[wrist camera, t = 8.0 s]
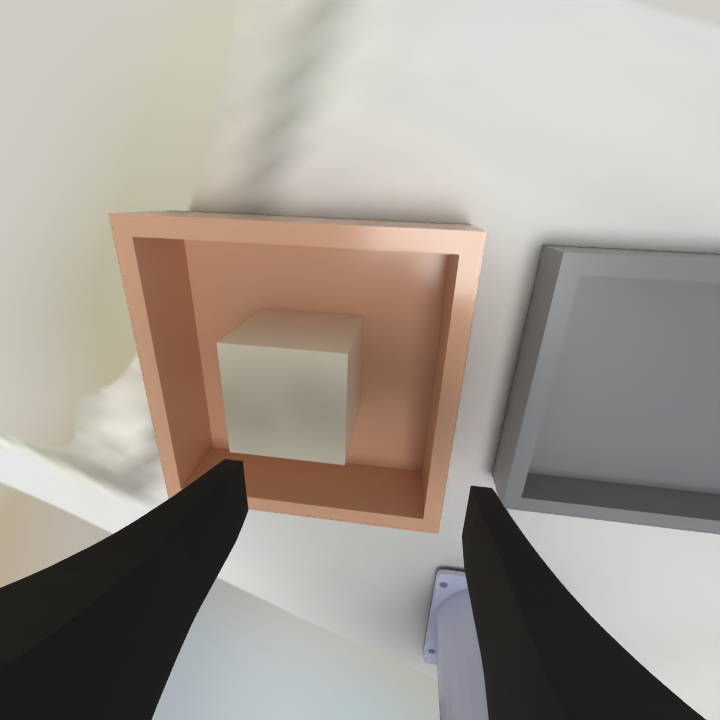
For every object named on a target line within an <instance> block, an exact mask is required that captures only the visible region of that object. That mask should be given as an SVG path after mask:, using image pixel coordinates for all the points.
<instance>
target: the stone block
mask: <svg viewBox="0 0 720 720" xmlns="http://www.w3.org/2000/svg"><path fill="white" fill-rule="evenodd" d="M363 329H364V315H356V314H342V313H328V312H314V311H300V310H286V309H272V308H263V309H262V310H261V311H259V312H258V313H257V314H255V315H254V316H252V317H251V318H250V319H248V320H247V321H246V322H244V323H243V324H241V325H240V326H239V327H237V328H236V329H235V330H233V331H232V332H231V333H229V334H228V335H226V336H225V337H224V338H222V339H221V340H220V341H218V342H217V352H218V360H219V368H220V376H221V385H222V393H223V401H224V409H225V417H226V426H227V434H228V442H229V450H230V452H233V453H242V454H251V455H260V456H268V457H277V458H286V459H295V460H304V461H312V462H321V463H330V464H339V465H345V463H346V459H347V455H348V451H349V447H350V444H351V440H352V436H353V432H354V428H355V424H356V420H357V416H358V412H359V408H360V400H361V377H362V353H363Z"/></svg>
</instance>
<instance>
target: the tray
mask: <svg viewBox="0 0 720 720" xmlns="http://www.w3.org/2000/svg"><path fill="white" fill-rule="evenodd" d="M492 476H493V479H494V483H495V486H496V490H497V493H498V497H499V499H500V501H501V502H502V504H503V505H504V507H505V508H506V509H514V510H523V511H531V512H539V513H548V514H556V515H564V516H572V517H581V518H589V519H597V520H605V521H614V522H622V523H630V524H638V525H647V526H655V527H663V528H671V529H680V530H688V531H696V532H705V533H713V534H720V254H709V253H689V252H670V251H650V250H630V249H611V248H591V247H572V246H552V245H543V247H542V251H541V256H540V260H539V265H538V270H537V274H536V279H535V283H534V288H533V292H532V297H531V301H530V306H529V311H528V315H527V320H526V324H525V329H524V333H523V338H522V342H521V347H520V351H519V356H518V361H517V365H516V370H515V374H514V379H513V383H512V388H511V392H510V397H509V401H508V406H507V411H506V415H505V420H504V424H503V429H502V433H501V438H500V442H499V447H498V451H497V456H496V461H495V465H494V470H493V474H492Z"/></svg>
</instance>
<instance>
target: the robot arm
mask: <svg viewBox="0 0 720 720" xmlns="http://www.w3.org/2000/svg"><path fill="white" fill-rule="evenodd" d="M247 512H248V501H247V492H246V483H245V475H244V466H243V461H239V460H230V459H224V460H223V461H221V462H220V463H218V464H217V465H216V466H214V467H213V468H211V469H210V470H209V471H207V472H206V473H205V474H203V475H202V476H200V477H199V478H198V479H196V480H195V481H194V482H192V483H191V484H189V485H188V486H187V487H185V488H184V489H182V490H181V491H179V492H178V493H177V494H175V495H174V496H172V497H171V498H170V499H168V500H167V501H165V502H164V503H162V504H161V505H159V506H157V507H156V508H154V509H153V510H151V511H150V512H148V513H147V514H145V515H144V516H142V517H141V518H139V519H138V520H136V521H134V522H133V523H131V524H130V525H128V526H126V527H124V528H123V529H121V530H119V531H118V532H116V533H114V534H112V535H111V536H109V537H107V538H105V539H103V540H102V541H100V542H98V543H96V544H94V545H92V546H90V547H89V548H87V549H84V550H82V551H80V552H78V553H77V554H75V555H72V556H70V557H68V558H66V559H64V560H62V561H60V562H58V563H56V564H54V565H52V566H50V567H48V568H46V569H43V570H41V571H39V572H37V573H34V574H32V575H30V576H28V577H25V578H23V579H21V580H18V581H16V582H14V583H11V584H9V585H6V586H4V587H2V588H0V720H151V719H152V717H153V714H154V712H155V709H156V707H157V704H158V702H159V699H160V697H161V694H162V692H163V689H164V687H165V685H166V682H167V680H168V677H169V675H170V673H171V670H172V668H173V666H174V663H175V661H176V658H177V656H178V654H179V651H180V649H181V647H182V645H183V642H184V640H185V638H186V636H187V633H188V631H189V629H190V627H191V624H192V623H193V621H194V618H195V616H196V614H197V612H198V610H199V609H200V607H201V605H202V603H203V601H204V599H205V598H206V596H207V594H208V592H209V590H210V588H211V587H212V585H213V583H214V581H215V579H216V577H217V576H218V574H219V572H220V570H221V568H222V566H223V565H224V563H225V561H226V559H227V557H228V555H229V553H230V552H231V550H232V548H233V546H234V544H235V542H236V540H237V538H238V535H239V533H240V531H241V528H242V526H243V523H244V520H245V518H246V515H247ZM462 543H463V557H464V568H465V572H460V571H453V570H446V569H442V570H439V571H438V572H437V574H436V580H435V586H434V591H433V597H432V603H431V609H430V615H429V621H428V627H427V633H426V639H425V645H424V651H423V659H424V661H425V662H427V663H431V664H437V671H438V689H439V709H440V720H706V719H704V718H703V717H702V716H701V715H699V714H698V713H697V712H696V711H694V710H693V709H692V708H691V707H689V706H688V705H687V704H686V703H685V702H683V701H682V700H681V699H680V698H679V697H678V696H677V695H675V694H674V693H673V692H672V691H671V690H670V689H668V688H667V687H666V686H665V685H664V684H663V683H661V682H660V681H659V680H658V679H657V678H656V677H654V676H653V675H652V674H651V673H650V672H649V671H648V670H647V669H646V668H644V667H643V666H642V665H641V664H640V663H639V662H638V661H637V660H636V659H635V658H634V657H633V656H632V655H630V654H629V653H628V652H627V651H626V650H625V649H624V648H623V647H622V646H621V645H620V644H619V643H618V642H617V641H616V640H615V639H614V638H613V637H612V636H611V635H609V634H608V633H607V632H606V631H605V630H604V629H603V628H602V627H601V626H600V625H599V624H598V623H597V622H596V621H595V620H594V619H593V618H592V617H591V615H590V614H589V613H588V612H587V611H586V610H585V609H584V608H583V607H582V606H581V605H580V604H579V602H578V601H577V600H576V599H575V598H574V597H573V596H572V595H571V594H570V592H569V591H568V590H567V589H566V588H565V587H564V585H563V584H562V583H561V582H560V581H559V580H558V578H557V577H556V576H555V575H554V573H553V572H552V571H551V570H550V569H549V567H548V566H547V565H546V564H545V562H544V561H543V560H542V559H541V557H540V556H539V555H538V553H537V552H536V551H535V549H534V548H533V547H532V545H531V544H530V543H529V541H528V540H527V539H526V537H525V536H524V534H523V533H522V532H521V530H520V529H519V527H518V526H517V525H516V523H515V522H514V520H513V519H512V517H511V516H510V514H509V513H508V511H507V510H506V508H505V507H504V505H503V504H502V502H501V501H500V499H499V497H498V496H497V494H496V493H495V491H494V490H493V489H492V488H487V487H477V486H471V488H470V494H469V499H468V505H467V511H466V516H465V522H464V527H463V533H462Z"/></svg>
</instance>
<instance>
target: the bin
mask: <svg viewBox="0 0 720 720" xmlns="http://www.w3.org/2000/svg"><path fill="white" fill-rule="evenodd" d="M109 219H110V224H111V228H112V233H113V237H114V242H115V247H116V252H117V257H118V261H119V266H120V271H121V276H122V280H123V285H124V290H125V294H126V299H127V304H128V309H129V313H130V318H131V323H132V328H133V333H134V337H135V342H136V347H137V351H138V356H139V361H140V366H141V370H142V375H143V380H144V385H145V389H146V394H147V399H148V404H149V408H150V413H151V418H152V423H153V427H154V432H155V437H156V442H157V446H158V451H159V456H160V460H161V465H162V470H163V475H164V479H165V484H166V489H167V494H168V498H169V499H170V498H171V497H172V496H174V495H175V494H177V493H178V492H179V491H181V490H182V489H184V488H185V487H187V486H188V485H189V484H191V483H192V482H194V481H195V480H196V479H198V478H199V477H200V476H202V475H203V474H205V473H206V472H207V471H209V470H210V469H211V468H213V467H214V466H216V465H217V464H218V463H220V462H221V461H223V460H224V459H230V460H239V461H243V466H244V475H245V483H246V492H247V501H248V509H252V510H260V511H268V512H275V513H283V514H291V515H298V516H306V517H314V518H322V519H329V520H337V521H345V522H352V523H360V524H368V525H375V526H383V527H391V528H398V529H406V530H414V531H422V532H429V533H437V534H438V531H439V525H440V519H441V512H442V506H443V500H444V494H445V488H446V481H447V475H448V469H449V463H450V457H451V450H452V444H453V438H454V432H455V426H456V419H457V413H458V407H459V401H460V395H461V388H462V382H463V376H464V370H465V364H466V357H467V351H468V345H469V339H470V332H471V326H472V320H473V314H474V308H475V301H476V295H477V289H478V283H479V277H480V270H481V264H482V258H483V252H484V246H485V239H486V233H487V232H486V231H484V230H482V229H479V228H477V227H475V226H473V225H469V224H448V223H426V222H405V221H383V220H362V219H340V218H319V217H297V216H276V215H254V214H233V213H211V212H190V211H153V212H152V211H151V212H131V213H109ZM263 308H272V309H286V310H300V311H314V312H328V313H342V314H356V315H364V329H363V353H362V377H361V400H360V408H359V412H358V416H357V420H356V424H355V428H354V432H353V436H352V440H351V444H350V447H349V451H348V455H347V459H346V463H345V465H339V464H330V463H321V462H312V461H304V460H295V459H286V458H277V457H268V456H260V455H251V454H242V453H233V452H230V450H229V442H228V434H227V426H226V417H225V409H224V401H223V393H222V385H221V376H220V368H219V360H218V352H217V342H218V341H220V340H221V339H222V338H224V337H225V336H226V335H228V334H229V333H231V332H232V331H233V330H235V329H236V328H237V327H239V326H240V325H241V324H243V323H244V322H246V321H247V320H248V319H250V318H251V317H252V316H254V315H255V314H257V313H258V312H259V311H261V310H262V309H263Z"/></svg>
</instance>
